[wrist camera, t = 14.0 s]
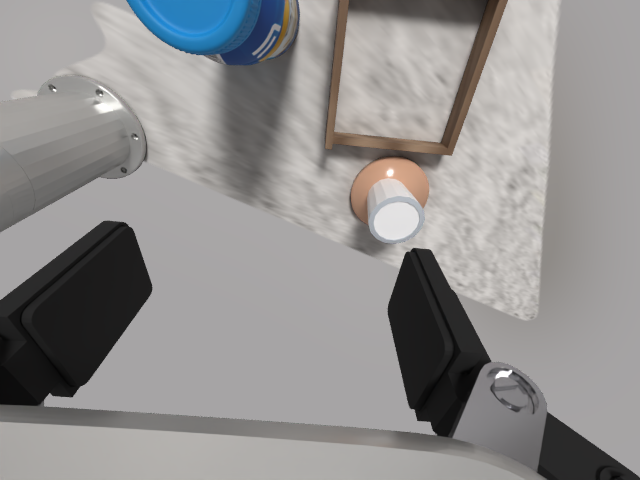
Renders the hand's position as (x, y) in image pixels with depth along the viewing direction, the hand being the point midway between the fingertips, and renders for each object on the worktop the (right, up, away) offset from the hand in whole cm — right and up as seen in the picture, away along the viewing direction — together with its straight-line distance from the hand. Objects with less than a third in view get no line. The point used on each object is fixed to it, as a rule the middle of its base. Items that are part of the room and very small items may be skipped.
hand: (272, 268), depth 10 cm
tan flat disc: (+12, +8, +31) cm, 34 cm away
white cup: (+11, +7, +30) cm, 33 cm away
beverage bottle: (-4, +25, +20) cm, 32 cm away
